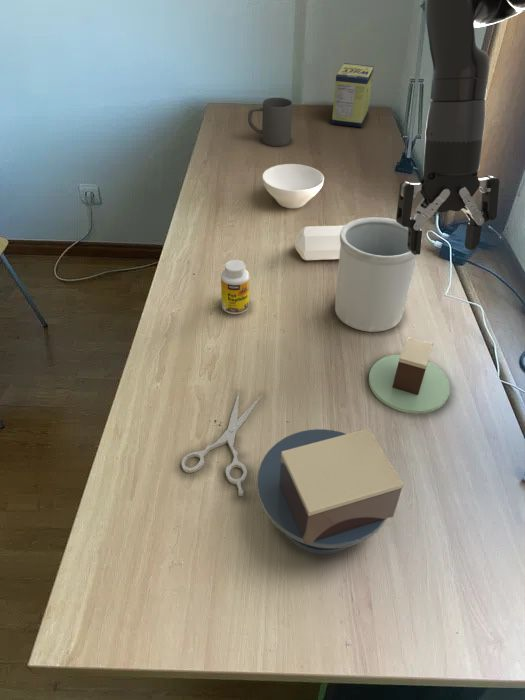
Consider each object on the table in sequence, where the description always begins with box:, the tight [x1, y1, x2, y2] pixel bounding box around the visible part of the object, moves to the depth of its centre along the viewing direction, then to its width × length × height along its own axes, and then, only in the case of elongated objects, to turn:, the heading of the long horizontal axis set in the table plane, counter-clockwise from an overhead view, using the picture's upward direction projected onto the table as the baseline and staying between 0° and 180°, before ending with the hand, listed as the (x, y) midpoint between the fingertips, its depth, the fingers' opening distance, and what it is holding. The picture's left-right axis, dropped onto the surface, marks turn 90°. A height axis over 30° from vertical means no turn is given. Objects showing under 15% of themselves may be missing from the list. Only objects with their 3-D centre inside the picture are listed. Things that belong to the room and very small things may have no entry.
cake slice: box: [392, 336, 434, 395], centre depth 97 cm, size 4×6×7 cm
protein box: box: [331, 62, 375, 128], centre depth 191 cm, size 10×16×16 cm
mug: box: [247, 97, 293, 147], centre depth 176 cm, size 14×9×12 cm
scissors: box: [181, 391, 262, 497], centre depth 89 cm, size 11×1×20 cm
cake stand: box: [257, 428, 404, 555], centre depth 75 cm, size 18×18×15 cm
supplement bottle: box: [220, 259, 250, 315], centre depth 112 cm, size 6×6×10 cm
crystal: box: [294, 224, 346, 261], centre depth 129 cm, size 7×7×24 cm
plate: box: [368, 353, 451, 415], centre depth 99 cm, size 14×14×1 cm
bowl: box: [261, 163, 325, 209], centre depth 147 cm, size 16×16×7 cm
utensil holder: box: [334, 217, 423, 333], centre depth 109 cm, size 15×15×18 cm
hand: (442, 251), depth 84 cm, fingers open, 8 cm apart
